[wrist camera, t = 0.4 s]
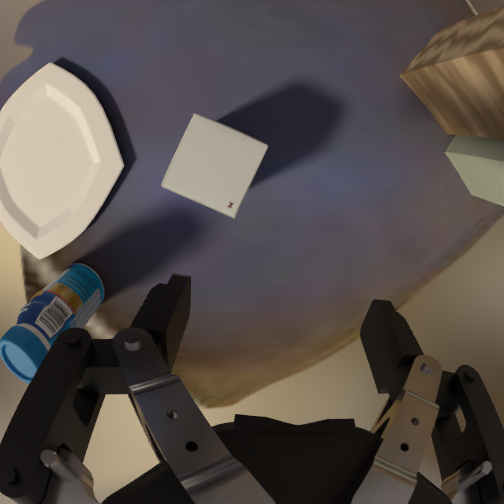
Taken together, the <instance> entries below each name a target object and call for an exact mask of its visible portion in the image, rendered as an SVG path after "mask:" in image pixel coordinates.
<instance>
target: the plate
mask: <svg viewBox="0 0 504 504" xmlns="http://www.w3.org/2000/svg"><path fill="white" fill-rule="evenodd" d="M123 167H124V163H123V160H122V157H121V154H120V151H119V148H118V145H117V142H116V140H115V137H114V134H113V131H112V128H111V125H110V123H109V121H108V118H107V116H106V114H105V112H104V109H103V107H102V106H101V104H100V102H99V101H98V99H97V98H96V96H95V94H94V93H93V92H92V91H91V90H90V89H89V88H88V86H87V85H86V84H85V83H83V82H82V81H81V80H80V79H78V78H77V77H76V76H75V75H73V74H71V73H70V72H68V71H66V70H65V69H63V68H61V67H59V66H57V65H55V64H53V63H51V62H50V63H48V64H47V65H46V66H44V67H43V68H42V69H40V70H39V71H38V72H36V73H35V74H34V75H33V76H32V77H30V78H29V79H28V80H27V81H26V82H25V83H24V84H23V85H22V86H21V87H20V88H19V89H18V90H17V91H16V92H15V93H14V94H13V95H12V96H11V97H10V99H9V100H8V101H7V102H6V104H5V105H4V106H3V108H2V110H1V111H0V221H1V222H2V224H3V225H4V227H5V228H6V229H7V230H8V232H9V233H10V234H11V235H12V236H13V237H14V238H15V239H16V240H17V241H18V242H19V243H20V244H21V245H22V246H23V247H25V248H26V249H27V250H28V251H29V252H30V253H32V254H33V255H34V256H35V257H37V258H38V259H39V260H40V259H42V258H44V257H46V256H48V255H50V254H52V253H54V252H56V251H57V250H59V249H61V248H63V247H64V246H65V245H67V244H68V243H70V242H71V241H73V240H74V239H75V238H76V237H77V236H79V235H80V234H81V233H82V232H83V231H84V230H85V229H86V228H87V226H88V225H89V224H90V222H91V221H92V220H93V219H94V217H95V216H96V214H97V212H98V211H99V209H100V208H101V206H102V205H103V203H104V201H105V200H106V198H107V196H108V194H109V192H110V191H111V189H112V187H113V186H114V184H115V182H116V180H117V178H118V176H119V175H120V173H121V171H122V169H123Z"/></svg>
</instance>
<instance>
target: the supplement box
mask: <svg viewBox="0 0 504 504" xmlns="http://www.w3.org/2000/svg"><path fill="white" fill-rule="evenodd" d="M267 148H268V145H266V144H265V143H263V142H261V141H259V140H257V139H255V138H253V137H251V136H249V135H247V134H245V133H242V132H240V131H238V130H236V129H234V128H231V127H229V126H226V125H224V124H222V123H219V122H217V121H214V120H212V119H209V118H207V117H204V116H201V115H198V114H194V115H193V117H192V119H191V121H190V123H189V125H188V127H187V129H186V131H185V134H184V136H183V138H182V140H181V142H180V144H179V146H178V148H177V150H176V152H175V154H174V157H173V159H172V161H171V163H170V165H169V168H168V170H167V172H166V174H165V177H164V179H163V181H162V184H161V186H162V187H163V188H165V189H168V190H170V191H173V192H175V193H177V194H180V195H182V196H184V197H187V198H189V199H191V200H194V201H196V202H198V203H200V204H202V205H205V206H207V207H210V208H212V209H214V210H217V211H219V212H221V213H223V214H226V215H228V216H230V217H232V218H235V217H236V215H237V213H238V211H239V209H240V206H241V204H242V202H243V200H244V198H245V196H246V194H247V192H248V189H249V187H250V185H251V183H252V181H253V179H254V176H255V174H256V172H257V170H258V168H259V166H260V163H261V161H262V159H263V157H264V155H265V152H266V150H267Z"/></svg>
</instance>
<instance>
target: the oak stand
mask: <svg viewBox="0 0 504 504" xmlns="http://www.w3.org/2000/svg"><path fill="white" fill-rule="evenodd" d="M400 77H401V78H402V79H403V80H404V81H405V82H406V83H407V84H408V86H409V87H410V88H411V89H412V90H413V91H414V93H415V94H416V95H417V96H418V97H419V99H420V100H421V101H422V102H423V103H424V105H425V106H426V107H427V108H428V110H429V111H430V112H431V114H432V115H433V116H434V118H435V119H436V120H437V122H438V123H439V124H440V126H441V127H442V128H443V130H444V131H445V133H446V134H448V135H464V136H477V137H487V138H497V139H504V6H503V7H500V8H497V9H494V10H490V11H487V12H484V13H481V14H478V15H475V16H473V17H470V18H467V19H464V20H462V21H459V22H457V23H454V24H452V25H449V26H447V27H444V28H442V29H440V30H439V31H438V32H437V33H436V34H435V35H434V36H433V38H432V39H431V40H430V41H429V42H428V43H427V44H426V46H425V47H424V48H423V49H422V50H421V51H420V53H419V54H418V55H417V56H416V57H415V58H414V59H413V61H412V62H411V63H410V64H409V65H408V66H407V67H406V69H405V70H404V71H403V72H402V73H401V74H400Z"/></svg>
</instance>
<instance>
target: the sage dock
mask: <svg viewBox="0 0 504 504" xmlns="http://www.w3.org/2000/svg"><path fill="white" fill-rule="evenodd" d="M445 154H446V155H447V157H448V158H449V159H450V161H451V162H452V164H453V166H454V167H455V169H456V170H457V172H458V173H459V175H460V177H461V178H462V180H463V181H464V183H465V185H466V186H467V188H468V190H469V192H470V193H471V195H473V196H476V197H479V198H482V199H485V200H488V201H490V202H493V203H496V204H499V205H501V206H504V139H497V138H487V137H477V136H464V135H456V136H455V137H454V139H453V140H452V142H451V143H450V145H449V146H448V147H447V149H446V150H445Z"/></svg>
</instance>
